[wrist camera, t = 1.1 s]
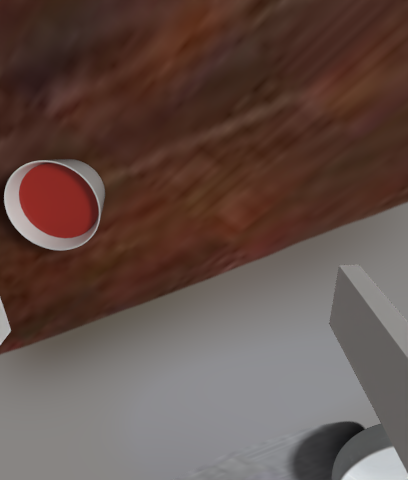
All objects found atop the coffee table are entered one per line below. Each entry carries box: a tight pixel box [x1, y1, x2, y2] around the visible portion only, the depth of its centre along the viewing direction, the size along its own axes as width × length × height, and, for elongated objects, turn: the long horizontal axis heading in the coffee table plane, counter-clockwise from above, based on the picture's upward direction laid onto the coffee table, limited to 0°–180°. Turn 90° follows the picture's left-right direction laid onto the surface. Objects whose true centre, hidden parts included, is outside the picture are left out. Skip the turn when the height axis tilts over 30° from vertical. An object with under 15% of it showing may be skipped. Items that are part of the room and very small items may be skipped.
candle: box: [4, 159, 105, 250], centre depth 36 cm, size 9×9×6 cm
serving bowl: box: [332, 424, 408, 480], centre depth 54 cm, size 21×21×7 cm
